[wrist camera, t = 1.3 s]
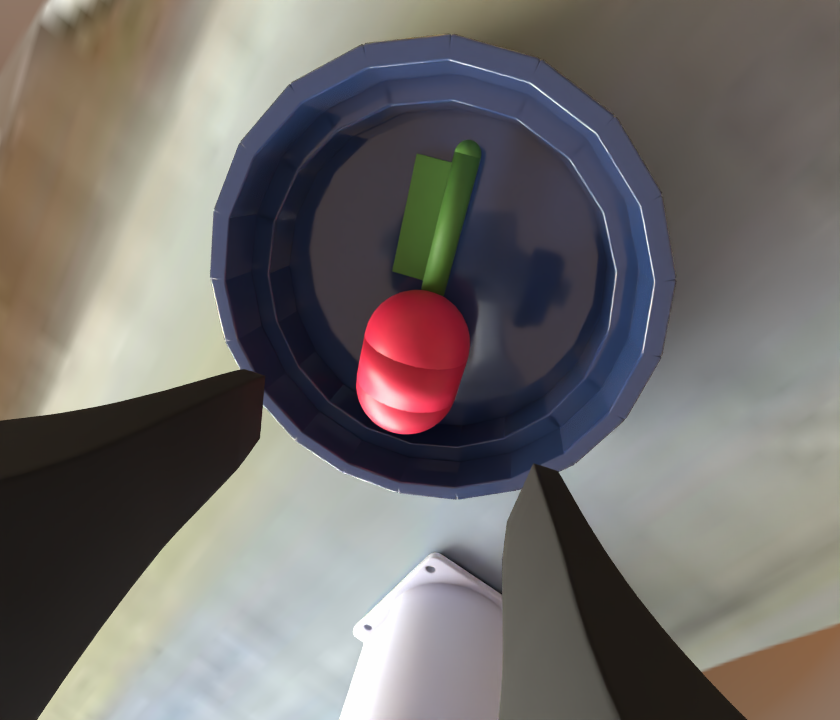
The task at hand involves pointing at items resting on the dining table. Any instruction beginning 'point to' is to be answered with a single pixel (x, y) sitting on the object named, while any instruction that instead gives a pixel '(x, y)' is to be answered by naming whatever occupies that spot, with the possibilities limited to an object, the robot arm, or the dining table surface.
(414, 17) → the dining table surface
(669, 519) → the dining table surface
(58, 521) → the robot arm
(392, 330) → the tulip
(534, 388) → the bowl
